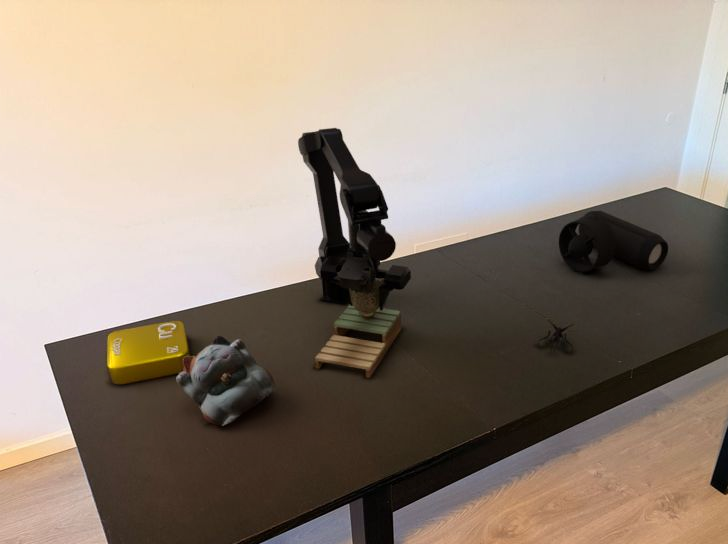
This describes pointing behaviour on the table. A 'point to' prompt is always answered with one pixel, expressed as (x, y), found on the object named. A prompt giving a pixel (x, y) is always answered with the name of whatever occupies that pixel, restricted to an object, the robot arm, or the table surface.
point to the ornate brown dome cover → (366, 299)
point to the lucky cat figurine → (224, 380)
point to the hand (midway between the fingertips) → (366, 307)
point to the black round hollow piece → (587, 243)
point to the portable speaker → (632, 242)
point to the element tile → (146, 352)
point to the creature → (557, 337)
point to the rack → (356, 349)
